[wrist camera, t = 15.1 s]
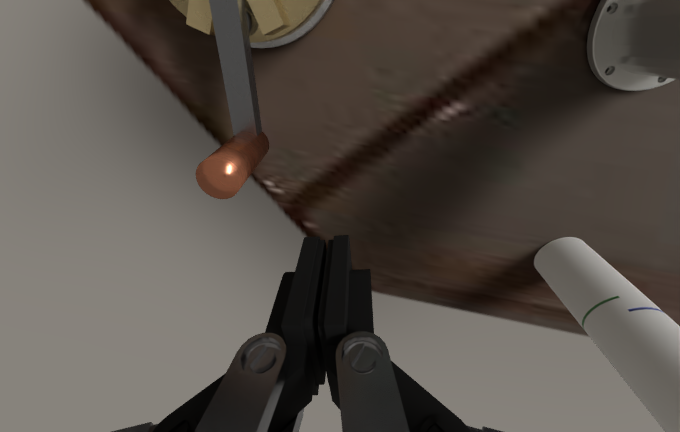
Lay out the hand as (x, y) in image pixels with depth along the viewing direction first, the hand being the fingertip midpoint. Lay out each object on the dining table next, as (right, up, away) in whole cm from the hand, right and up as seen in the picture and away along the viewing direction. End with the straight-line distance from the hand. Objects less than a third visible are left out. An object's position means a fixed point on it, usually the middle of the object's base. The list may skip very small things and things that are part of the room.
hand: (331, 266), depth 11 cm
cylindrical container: (+33, -4, +32) cm, 46 cm away
